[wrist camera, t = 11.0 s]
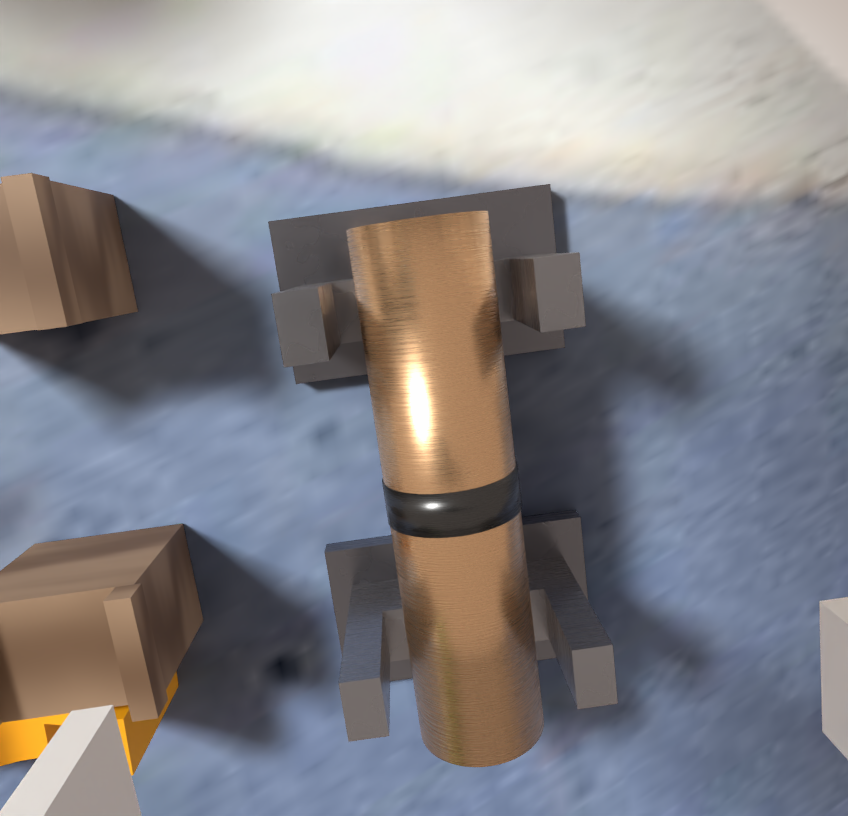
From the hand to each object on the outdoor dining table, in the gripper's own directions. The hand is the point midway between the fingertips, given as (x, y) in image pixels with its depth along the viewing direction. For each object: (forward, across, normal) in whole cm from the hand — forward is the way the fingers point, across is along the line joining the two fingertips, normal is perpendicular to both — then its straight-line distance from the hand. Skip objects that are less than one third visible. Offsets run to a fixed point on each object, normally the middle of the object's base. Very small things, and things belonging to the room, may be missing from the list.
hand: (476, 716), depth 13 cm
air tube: (+14, +1, 0) cm, 14 cm away
